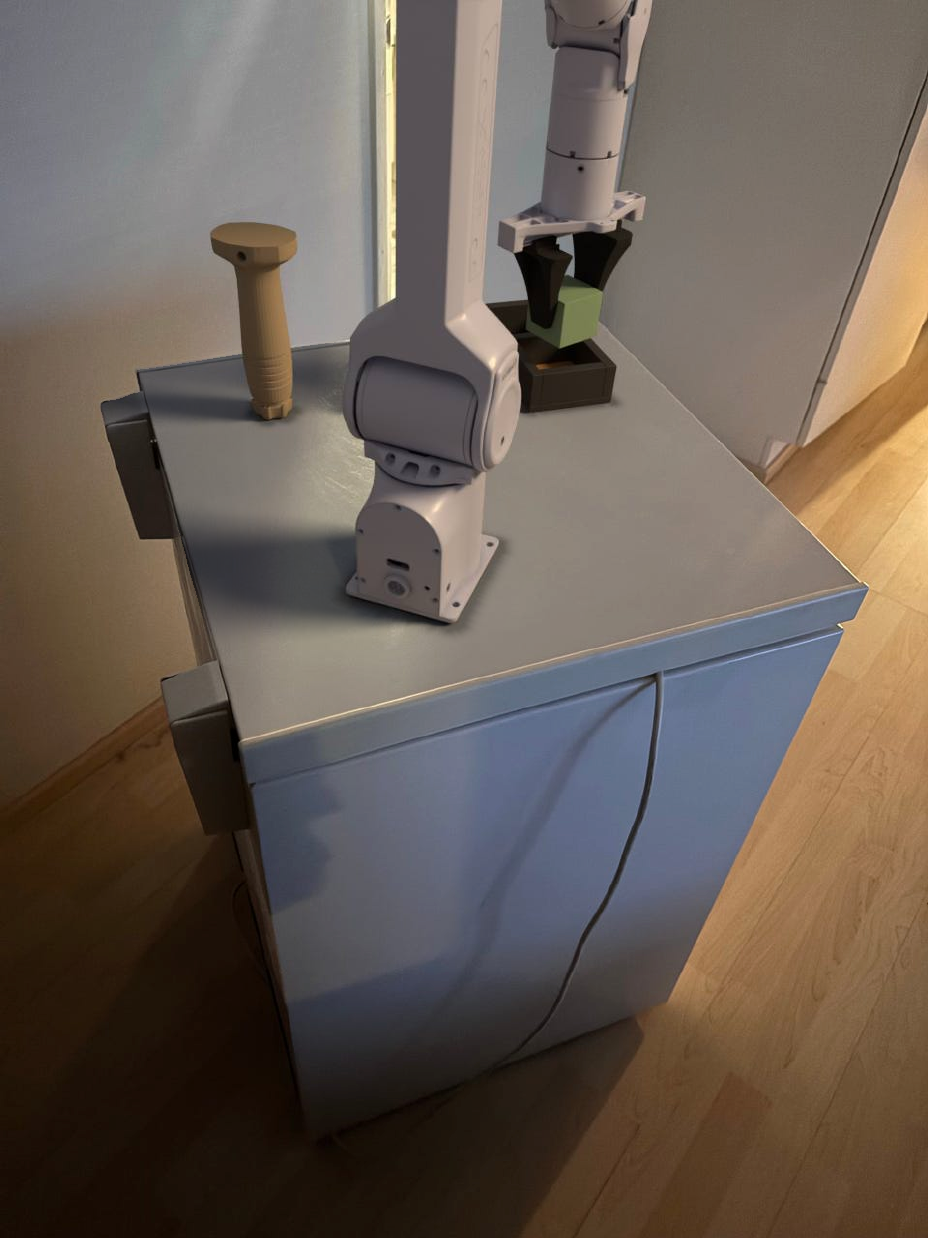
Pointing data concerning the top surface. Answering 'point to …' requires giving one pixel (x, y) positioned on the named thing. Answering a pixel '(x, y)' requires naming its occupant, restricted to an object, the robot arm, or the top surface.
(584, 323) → the green cube
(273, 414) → the handle
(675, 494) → the top surface
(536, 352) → the holder
